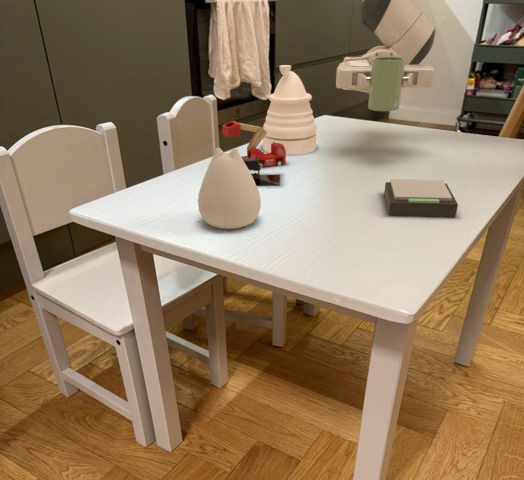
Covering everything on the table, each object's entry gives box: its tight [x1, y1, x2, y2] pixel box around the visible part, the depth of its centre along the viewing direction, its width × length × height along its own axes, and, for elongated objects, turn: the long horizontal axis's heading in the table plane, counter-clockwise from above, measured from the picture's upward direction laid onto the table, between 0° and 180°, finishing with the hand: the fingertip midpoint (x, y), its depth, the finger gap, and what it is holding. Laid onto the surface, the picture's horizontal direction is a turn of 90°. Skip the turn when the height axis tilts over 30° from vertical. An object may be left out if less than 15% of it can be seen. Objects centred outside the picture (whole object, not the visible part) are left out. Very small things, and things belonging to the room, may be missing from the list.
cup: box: [367, 57, 406, 112], centre depth 101 cm, size 6×6×9 cm
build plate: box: [242, 157, 281, 187], centre depth 101 cm, size 12×7×5 cm, turn 89°
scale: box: [383, 178, 459, 219], centre depth 88 cm, size 11×11×3 cm
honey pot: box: [262, 64, 318, 156], centre depth 117 cm, size 13×13×18 cm
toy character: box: [197, 147, 262, 230], centre depth 81 cm, size 10×10×12 cm
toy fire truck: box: [221, 120, 287, 169], centre depth 107 cm, size 3×14×10 cm, turn 111°
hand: (386, 82), depth 100 cm, fingers closed on cup, 6 cm apart
